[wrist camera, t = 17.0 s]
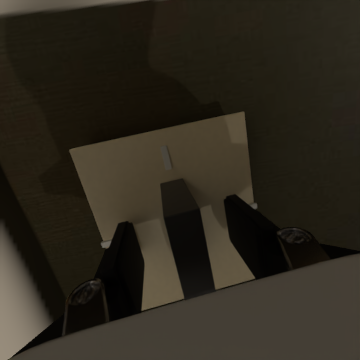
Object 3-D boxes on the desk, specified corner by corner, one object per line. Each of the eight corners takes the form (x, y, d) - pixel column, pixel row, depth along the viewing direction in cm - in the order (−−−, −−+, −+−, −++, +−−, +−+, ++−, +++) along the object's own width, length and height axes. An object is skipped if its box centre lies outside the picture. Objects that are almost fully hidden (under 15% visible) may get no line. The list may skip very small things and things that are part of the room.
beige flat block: (85, 145, 13) (64, 150, 10) (227, 114, 14) (247, 110, 11) (133, 282, 16) (128, 316, 13) (244, 251, 17) (264, 278, 14)
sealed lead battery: (159, 183, 11) (163, 220, 7) (182, 177, 11) (201, 210, 7) (180, 265, 13) (194, 339, 8) (199, 259, 13) (224, 330, 8)
